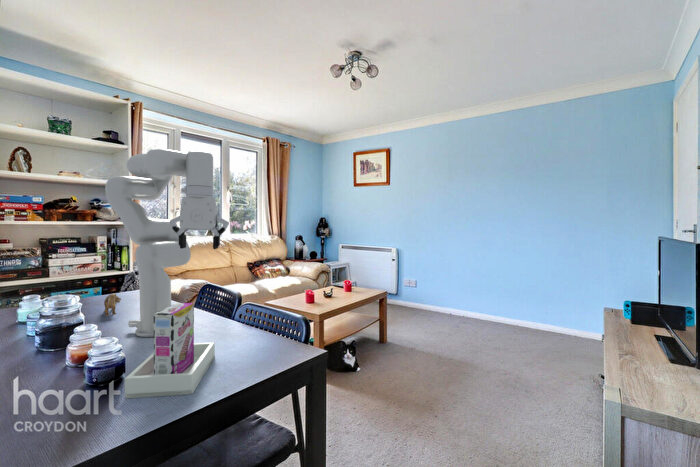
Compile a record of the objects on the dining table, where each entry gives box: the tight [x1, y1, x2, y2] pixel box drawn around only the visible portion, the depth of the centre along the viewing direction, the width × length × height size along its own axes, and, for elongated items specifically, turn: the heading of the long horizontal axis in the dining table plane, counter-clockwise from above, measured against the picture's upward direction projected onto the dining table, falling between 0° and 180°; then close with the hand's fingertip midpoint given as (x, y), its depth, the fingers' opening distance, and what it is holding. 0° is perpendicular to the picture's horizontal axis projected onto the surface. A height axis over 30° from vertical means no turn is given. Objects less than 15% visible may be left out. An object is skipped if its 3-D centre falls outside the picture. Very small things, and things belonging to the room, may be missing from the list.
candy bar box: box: [153, 302, 195, 375], centre depth 85 cm, size 11×5×16 cm, turn 0°
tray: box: [124, 341, 216, 399], centre depth 85 cm, size 14×20×4 cm
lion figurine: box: [103, 293, 122, 317], centre depth 140 cm, size 15×5×9 cm, turn 47°
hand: (199, 248), depth 103 cm, fingers open, 9 cm apart
